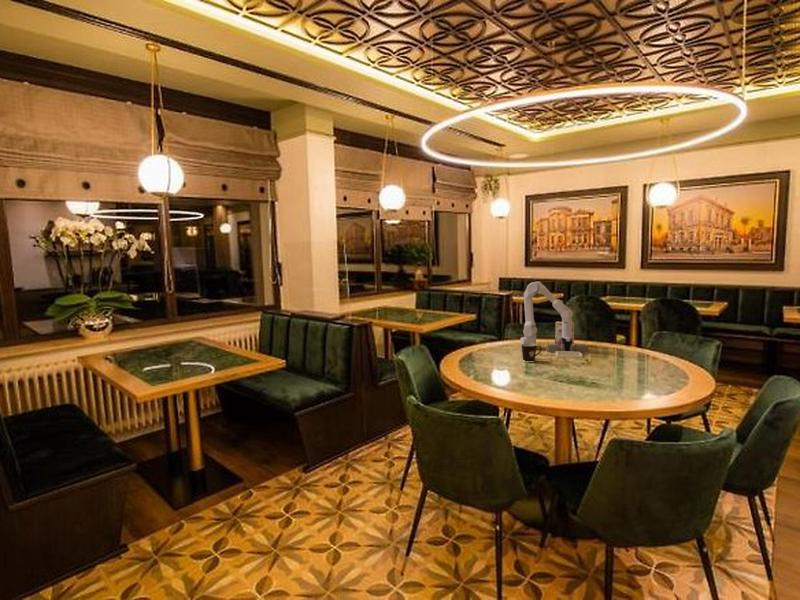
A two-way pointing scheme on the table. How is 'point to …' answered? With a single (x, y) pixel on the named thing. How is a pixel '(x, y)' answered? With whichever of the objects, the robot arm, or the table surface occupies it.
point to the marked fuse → (564, 347)
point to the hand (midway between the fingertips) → (566, 350)
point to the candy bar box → (559, 333)
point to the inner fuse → (553, 348)
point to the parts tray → (569, 355)
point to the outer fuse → (580, 348)
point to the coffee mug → (529, 351)
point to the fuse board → (572, 350)
